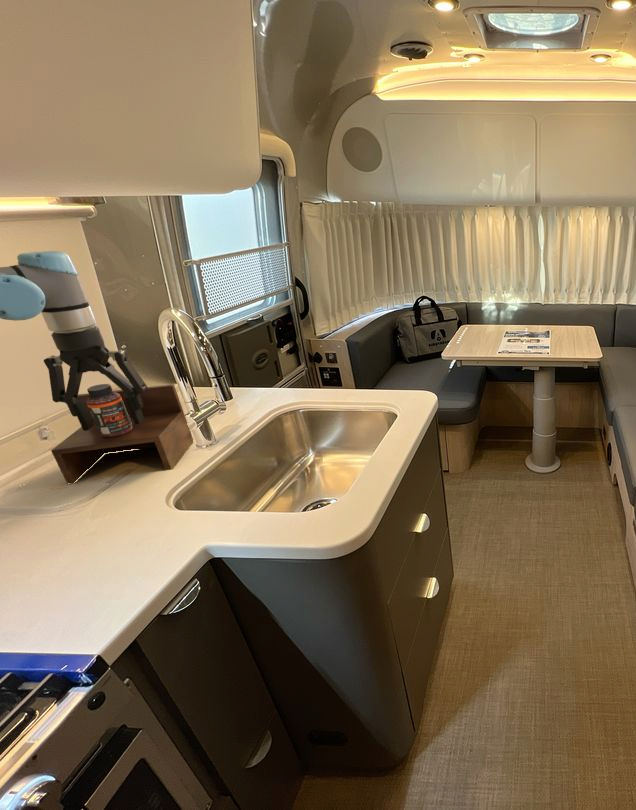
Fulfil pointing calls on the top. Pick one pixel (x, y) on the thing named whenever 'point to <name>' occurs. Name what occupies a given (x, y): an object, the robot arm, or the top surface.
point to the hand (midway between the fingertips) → (114, 424)
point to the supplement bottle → (108, 411)
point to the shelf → (130, 434)
